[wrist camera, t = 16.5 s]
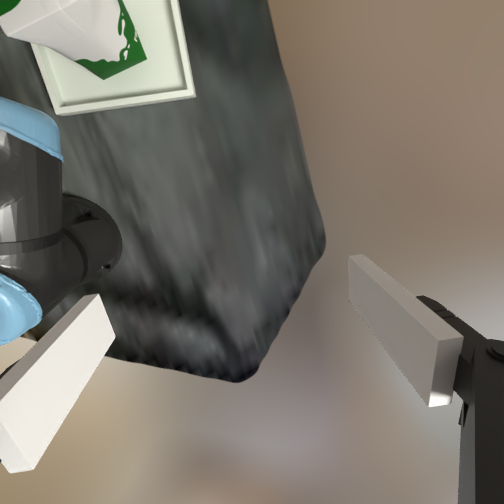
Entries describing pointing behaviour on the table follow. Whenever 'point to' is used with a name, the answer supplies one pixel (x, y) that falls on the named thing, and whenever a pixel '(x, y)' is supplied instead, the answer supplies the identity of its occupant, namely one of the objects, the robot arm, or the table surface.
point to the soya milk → (77, 31)
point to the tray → (132, 79)
